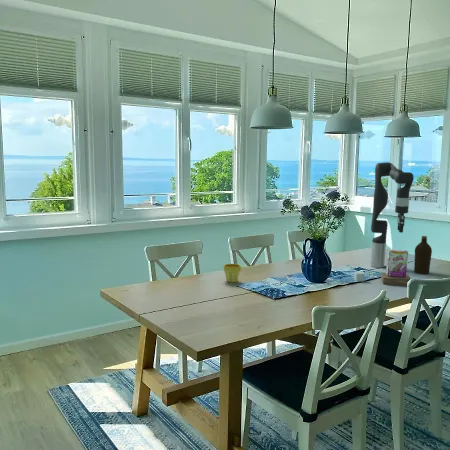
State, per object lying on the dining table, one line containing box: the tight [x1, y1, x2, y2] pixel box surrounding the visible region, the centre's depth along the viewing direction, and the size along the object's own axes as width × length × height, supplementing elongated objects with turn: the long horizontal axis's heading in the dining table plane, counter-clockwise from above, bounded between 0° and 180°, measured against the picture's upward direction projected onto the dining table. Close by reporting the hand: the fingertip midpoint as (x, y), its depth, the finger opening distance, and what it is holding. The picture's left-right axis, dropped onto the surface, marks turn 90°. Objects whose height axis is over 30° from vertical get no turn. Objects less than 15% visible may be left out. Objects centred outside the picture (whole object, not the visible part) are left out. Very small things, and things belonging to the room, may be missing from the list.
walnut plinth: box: [380, 272, 412, 287], centre depth 290 cm, size 14×16×4 cm
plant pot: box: [223, 263, 242, 283], centre depth 286 cm, size 10×10×10 cm
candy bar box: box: [385, 248, 409, 277], centre depth 288 cm, size 11×5×16 cm, turn 83°
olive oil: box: [413, 235, 433, 275], centre depth 315 cm, size 11×11×25 cm
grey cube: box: [353, 271, 366, 282], centre depth 293 cm, size 5×5×5 cm
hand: (400, 231), depth 287 cm, fingers open, 8 cm apart
